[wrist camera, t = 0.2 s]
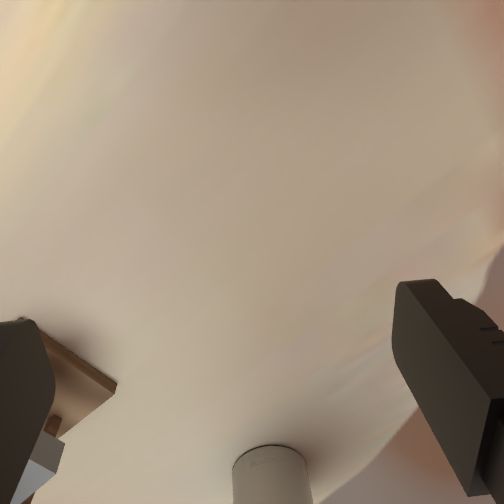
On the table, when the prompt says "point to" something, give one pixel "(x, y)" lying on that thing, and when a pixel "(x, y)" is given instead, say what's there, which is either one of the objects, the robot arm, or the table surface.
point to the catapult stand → (72, 390)
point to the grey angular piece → (39, 466)
